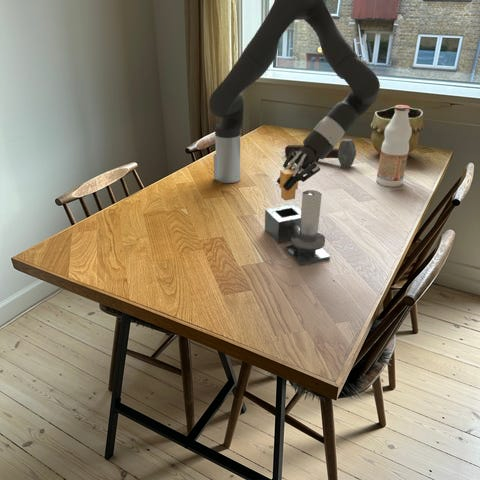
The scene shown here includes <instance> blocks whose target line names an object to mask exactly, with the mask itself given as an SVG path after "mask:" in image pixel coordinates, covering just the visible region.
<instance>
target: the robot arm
mask: <svg viewBox="0 0 480 480" xmlns="http://www.w3.org/2000/svg"><path fill="white" fill-rule="evenodd" d="M301 20H302V21H303V20H304V22H306V23H307V24H308V25H309V26H310V27H311V29H312V30H313V31H314V33H315V34H316V36H317V38H318V41H319V45H320V48H321V52H322V54H323V57H324V58H325V60H326V61H327V63H328V65H329V66H330V67H331V69H332V70H333V72H334V73H335V74H336V76H338V78H340V79H341V80H344V81H345V82H346V84H347V85H348V86H349V88H350V89H351V91H350V92H349V93H348V94H347V96H345V98H344V99H343V100H342V101H339V102H337V103H336V104H335V105H334V106H333V107H332V108H331V110H329V112H328V113H327V114H326V115H325V116H324V117H323V119H321V120H320V121H319V122H318V123H317V124H316V125H315V127H314V128H313V129H312V130H311V131H310V133H308V135H307V136H306V137H305V138H304V139H303V140H302V145H304V146H303V147H302V148H301V149H299V150H298V151H294V150H293V149H292V150H291V151H290V153H289V155H288V157H286V159H285V161H284V163H283V165H282V167H283V168H284V169H283V170H287V169H295V172H294V173H293V175H292V176H293V177H292V176H291V177H290V178H289V179H288V180H287V181H286V182H285V183H284V185H283V187H284V188H285V189H286V190H287V191H289V190H290V189H291V188H292V187H293V186H294V185H295V183H296V182H297V181H298V182H300V181H301V182H302V183H304V182H306V181H307V180H308V179H310V178H311V177H313V176H314V175H315V174H317V173H318V172H320V171H321V167H320V166H319V165H318V164H319V161H320V160H324V159H326V158H325V157H326V156H327V155H328V154H329V152H330V151H331V150H332V149H333V148H334V149H335V147H336V146H337V144H339V142H341V141H342V138H343V137H344V135H345V134H346V133H347V132H348V131H349V129H350V128H351V127H352V126H353V125H354V123H355V122H356V121H357V120H358V119H359V118H360V117H361V116H362V115H363V114H365V113H366V112H367V110H368V109H369V108H370V107H372V105H373V104H374V103H375V102H376V100H377V98H378V96H379V93H380V89H381V88H380V87H381V85H380V84H381V83H380V81H379V78H378V76H377V75H376V74H375V71H373V70H372V69H371V68H370V67H369V65H367V64H366V63H365V62H364V61H362V59H360V57H359V56H358V54H357V52H356V51H355V50H354V49H353V47H352V46H351V44H350V43H349V41H348V40H347V39H346V38H345V36H344V35H343V33H342V32H341V30H340V28H339V27H338V25H337V23H336V22H335V20H334V18H333V16H332V14H331V12H330V11H329V8H328V7H327V5H326V2H325V0H274V2H273V4H272V6H271V7H270V9H269V11H268V13H267V14H266V17H265V19H264V20H263V22H262V23H261V24H260V26H259V28H258V29H257V30H256V32H255V34H254V36H253V37H252V38H251V40H250V41H249V43H248V44H247V45H246V46H245V48H244V50H242V53H241V54H240V55H239V58H238V59H237V61H236V62H235V64H234V65H233V67H231V69H230V71H229V72H228V73H227V76H226V77H225V78H224V79H223V81H221V83H220V84H219V85H218V86H217V87H216V88H215V89H214V90H213V92H212V93H211V95H210V97H209V101H208V106H209V107H208V108H209V111H210V113H211V114H212V115H213V116H214V117H217V118H221V120H220V122H218V124H216V126H215V127H214V136H215V138H214V140H215V154H214V155H213V179H214V180H216V181H217V182H219V183H222V184H223V183H224V184H233V183H234V184H235V183H238V182H240V180H241V178H242V177H241V174H242V172H241V169H242V168H241V165H242V164H241V156H242V155H241V139H242V138H241V131H242V128H243V124H244V107H245V106H244V103H245V102H244V98H243V94H242V92H244V91H245V90H246V89H248V88H249V87H250V86H252V85H253V84H254V83H255V82H257V80H259V79H260V78H261V77H262V76H263V75H265V73H266V72H267V71H268V69H269V68H270V66H271V65H272V64H273V62H274V61H275V59H276V57H277V53H278V49H279V44H280V41H281V38H282V36H283V35H284V33H285V32H286V30H287V29H288V28H289V27H290V26H291V24H293V22H295V21H301ZM298 173H299V174H298ZM276 183H277V184H279V185H280V176H279V177H278V178H277V179H276Z"/></svg>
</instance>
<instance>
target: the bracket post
mask: <svg viewBox="0 0 480 480" xmlns="http://www.w3.org/2000/svg"><path fill="white" fill-rule="evenodd" d="M301 197H302V198H301V207H299V206H297V205H296V204H294V203H293V204H287V205H282V206H277V207H271V208H266V209H264V210H265V211H264V231H265V232H266V233H267V235H269V237H270V238H271V239H272V240H273V241H274V242H275V243H276V244H277V245H280V244H283V243H288V242H290V243H291V245H287V246H284V251H285V252H286V253H287V254H288V255H289V256H290V257H291V258H292V259H293V260H294V261H295V262H296V263H297V264H298V265H299V266H300V267H303V266H307V265H311V264H315V263H316V264H317V263H319V262H320V263H321V262H323V261H324V262H325V261H328V260H330V259H331V256H330V254H329V253H327V252H326V251H325V250H324V249H323V248H324V246H325V245H326V244H325V243H326V237H325V236H324V235H323V234H322V233H320V232H319V224H320V215H321V205H322V204H321V203H322V192H320V191H317V190H313V189H310V190H308V189H307V190H305V191H303V192H302V196H301Z"/></svg>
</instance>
